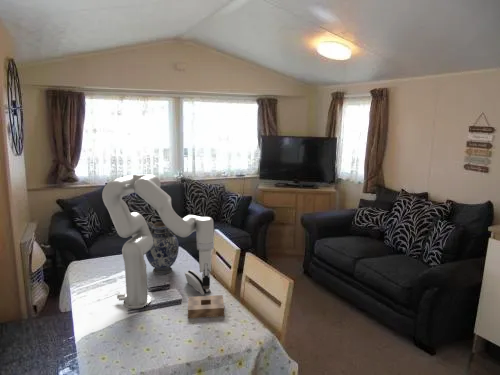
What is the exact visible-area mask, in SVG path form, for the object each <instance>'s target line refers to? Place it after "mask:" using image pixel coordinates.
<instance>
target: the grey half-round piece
mask: <svg viewBox="0 0 500 375" xmlns="http://www.w3.org/2000/svg"><path fill="white" fill-rule="evenodd" d="M184 276H185V279H186V282H187V283H188V285H190V286H191V287H192V288H193V289H195V290H196V291H197V292H199V293H200V294H201V296H203V295H205V293H208V292H210V293H211V292H212V291H211V288H209V289H203V279H202V276H201V275H200V274H199V273H197V272H196V271H195V270H193V269H189V270H188V271H186V272H185V273H184Z"/></svg>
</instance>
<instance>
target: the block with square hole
mask: <svg viewBox="0 0 500 375" xmlns="http://www.w3.org/2000/svg"><path fill="white" fill-rule="evenodd" d="M187 297H188V298H187V300H188V301H187V319H197V318H198V319H200V318H217V317H225V305H224V296H223V294H219V295H204V296H203V295H201V296H200V295H199V296H198V295H197V296H187Z"/></svg>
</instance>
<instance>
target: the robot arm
mask: <svg viewBox="0 0 500 375" xmlns="http://www.w3.org/2000/svg"><path fill="white" fill-rule="evenodd" d="M161 183H162V182H161V180H160V178H159V177H157V175H155V174H129V175H124V176H122V177H117V178H115V179H112V180H111V181H109V182H107V184H105V186H104V188H103V189H102V192H101V193H102V194H101V196H102V201H103V204H104V206H105V208H106V209H107V211H108V213H109V216H110V220H111V221H112V223H113V225H114V229H115V231H116V232H117V235H118V236H119V237H121V238H123V239H124V238H125V239H126V238H129V237H132V238H129V239H128V240H127V241H126V242H124V244H123V245H122V249H121V253H122V259H123V263H124V264H123V265H124V274H125V291H126V292H125V293H124V294H122V293H121V294H117V295H116V298H117V300H118V301H119V302H121V301H123V306H124V307H125V308H127V309H131V310H132V309H134V310H135V309H142V308H144V306H145V307H147V306H148V305H147V304H149V303H150V304H151V302H152V297H151V296H150V295H148V294H149V293H148V278H147V276H148V273H147V263H146V260H145V256H144V255H146V254H145V253H147V252H148V251H149V250H150V249H151V248H152V246H153V238H152V235H151V233H150V230H151V229H150V230H149V228H148V225H147V223H148V222H147V220H146V219H145V217H144V216H143V215H142V214H141V213H139V212H136V211H133V212H131V211H130V209H129V206H128V204H127V202H125V200H123V197H126V196H128V195H131V194H134V193H136V194H137V195H138V196H139V197H140V198H141V199H142V200H144V202H146V203H147V204H149V206H151V208H153V209H154V210H155V211H156V212H157V213H158V216H159V218H160V220H161V222H163V223H164V224H165V225H166V226H167V227H168V229H170V230H171V231H172V232H173V233H175V236H178V237H181V238H187V237H189V236H190V235H191V234H192V233H194V232H196V233H195V234H196V250H197V251H199V252H198V257H199V258H198V259H199V260H198V261H199V262H198V263H199V272H200V273H202V274H201V275H202V276H201V277H202V279H203V286H210V287H211V280H210V279H211V277H209V276H211V274H210V272H212V251H213V250H214V248H215V233H214V231H215V230H214V229H215V228H214V219H213V218H212V217H210V216H198V215H194V214H188V215H186V216H184V217H181V216H179V215H178V213H176V211H175V210H174V208H173V206H172V197H171V196H170V195H169V194H168V193H167V191H164V190H163V189H162V188H161V186H162V184H161ZM204 266H205V267H204ZM204 270H205V271H204ZM150 304H149V305H150ZM146 305H147V306H146Z"/></svg>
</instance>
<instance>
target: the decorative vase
mask: <svg viewBox="0 0 500 375" xmlns="http://www.w3.org/2000/svg"><path fill="white" fill-rule="evenodd" d="M146 223H147V225H148V228H149V230H150V233H151V235H152V238H153V246H152V248H151V249H150V250H149V251H148V252H147V253H145V254H144V255H145V256H146V259H147V261H148V263H149V264H150V266H151V267H152V268H153V270H152V272H153V274H154V275H159V276H162V275H163V276H164V275H169V274H170V273H172V272H173V268H172V266H173V265H174V264H175V262H176V260H177V258H178V255H179V249H180V247H179V246H180V245H179V241H178V238H177V237H176V234H175V233H173V232H172V231H171V230H170V229H169V228H168V227H167V226H166V225H165V224H164V223H163V221H157V222H154V223H153V222H152V221H148V222H146Z"/></svg>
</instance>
